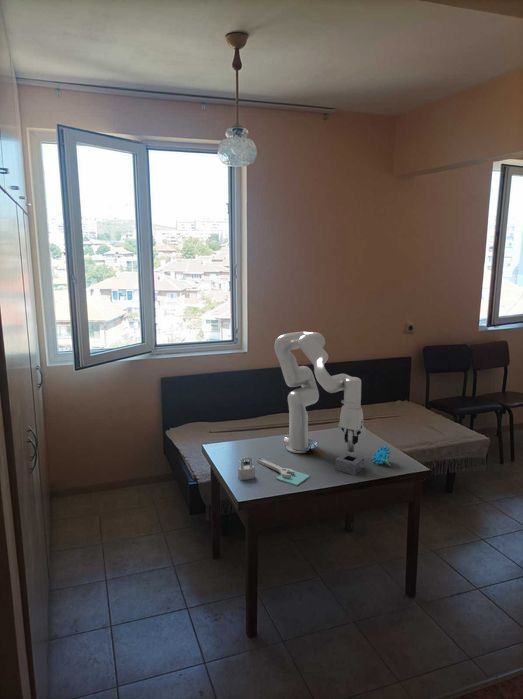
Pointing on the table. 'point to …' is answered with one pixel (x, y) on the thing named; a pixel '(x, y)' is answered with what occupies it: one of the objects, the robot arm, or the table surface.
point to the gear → (381, 456)
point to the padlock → (246, 470)
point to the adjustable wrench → (277, 468)
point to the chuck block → (349, 463)
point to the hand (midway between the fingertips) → (351, 442)
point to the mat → (294, 478)
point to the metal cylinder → (350, 441)
